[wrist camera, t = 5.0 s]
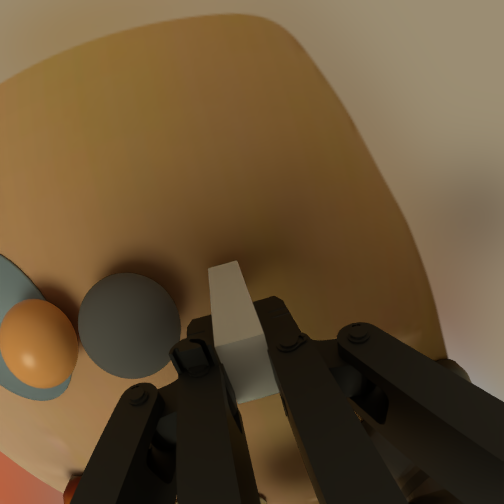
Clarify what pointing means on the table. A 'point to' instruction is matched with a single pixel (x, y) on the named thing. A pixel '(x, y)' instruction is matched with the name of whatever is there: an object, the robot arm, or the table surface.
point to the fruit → (71, 488)
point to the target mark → (3, 298)
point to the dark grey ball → (129, 325)
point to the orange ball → (38, 343)
